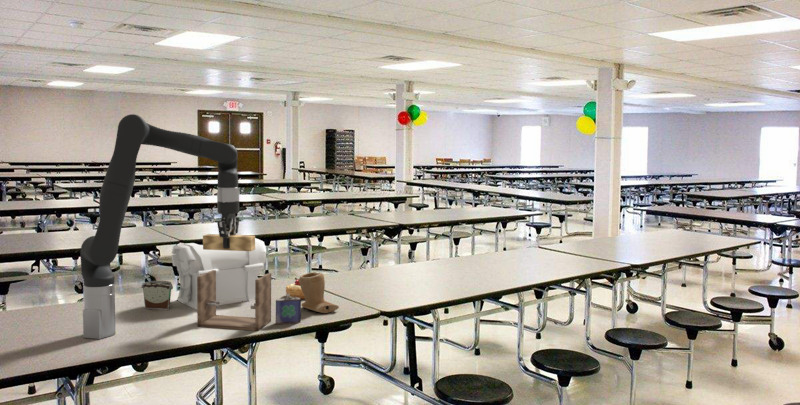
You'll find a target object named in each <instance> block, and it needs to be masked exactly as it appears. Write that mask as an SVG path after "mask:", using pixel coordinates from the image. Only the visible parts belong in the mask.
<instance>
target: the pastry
mask: <svg viewBox="0 0 800 405" xmlns="http://www.w3.org/2000/svg"><path fill="white" fill-rule="evenodd" d="M286 294H290V296H291V297H294V298H295V297H297V298H300V299H301V300H305V296H304V294H303V292H302V289H301V287H300V283H299V278H298V279H295V281H294V283H290V284H288V285H286V287H285V295H286Z"/></svg>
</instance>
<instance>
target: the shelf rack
mask: <svg viewBox="0 0 800 405" xmlns="http://www.w3.org/2000/svg"><path fill="white" fill-rule="evenodd" d="M254 301H255V303H254V304H253V305H252V304H251V305H250V309H251V310H254V311H255V312H254V314H255V316H254V317H249V316H239V315H238V316H234V315H223V314H222V315H220V314H217V306H216V304H220V301H216V270H212V271H209V272H207V273H205V274H202V275H200V276H197V316H196V317H197V321H196V322H197V327H201V328H211V329H215V328H216V329H227V330H228V329H231V330H243V331H253V332H254V331H255V332H256V331H257V332H258V331H260V330H262V329H263V328H265V326H267V325H268V324H270V323H271V322H272V273H271V272H270V273H269V272H267V273H266V274H264V275H262V276H260V277H258V279H256V280H255V300H254Z"/></svg>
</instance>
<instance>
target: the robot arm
mask: <svg viewBox="0 0 800 405" xmlns="http://www.w3.org/2000/svg"><path fill="white" fill-rule="evenodd" d="M141 145H144V146H153V147H161V148H164V149H168V150H172V151H177V152H179V153H184V154H186V155H190V156H195V157H198V158H203V159H204V158H205V159H209V160H212V161H215V162H217V166H218V172H217V193H216V200H217V202H216V203H217V204H216V205H217V206H216V207H217V209H216V210H217V213H218V214H221V216H220V217H221V219H220V221H217V229H218V234H219V236H220V237H222V238H223V248H224V249H228V248H230V238H229V237H230V235H237V234H238V232H239V223H240V217H237V216H236V214H239V213H240V191H239V176H238V158H239V157H238V150H237V148H236V147H235V146H234V145H233V144H231V143H224V142H221V141H216V140H211V139H209V138H206V137H203V136H199V135H197V134H196V135H195V134H191V133H188V132H187V133H186V132H180V131H172V130H167V129H163V128H160V127H157V126H154V125H152V124H150V123H148V122H147V121H146V120H145V119H144V118H143V117H142V116H139V115H137V114H134V113H133V114H127V115H125V116H124V117H122V118H121V120H120V121H119V122H118V124H117V131H116V138H115V144H114V148H113V153H112V155H111V156H112V157H111V159H110V161H109V164H108V167H107V169H106V173H105V176H104V179H103V182H102V185H101V189H100V193H99V200H98V202H99V205H98V206H99V221H98V224H97V229H96V232H95V235H92V236H89V237H87V238H86V239H85V240H84V241H83V242H82V244H81V247H80V269H81V276H82V280H83V302H84V309H83V310H82V329H83V330H82V331H83V332H82V333H83V334H82V336H83V337H82V338H84V339H96V340H97V339H98V340H100V339H103V338H108V337H109V338H110V337H113V336H114V335H116V291H115V290H116V288H115V282H116V280H115V275H114V273H113V271H112V267H111V263H113V262H114V261H115V259H116V257H117V255H118V252H119V251H118V250H119V245H120V244H119V243H120V237H121V232H122V227H123V223H124V219H125V217H126V213H127V209H128V206H129V203H130V199H131V197H132V193H133V188H134V185H135V178H136V169H137V168H136V167H137V159H138V154H139V152H140V148H141Z"/></svg>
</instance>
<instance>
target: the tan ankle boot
mask: <svg viewBox="0 0 800 405" xmlns="http://www.w3.org/2000/svg"><path fill="white" fill-rule="evenodd" d="M298 279H299V283H300V287H301V289H302V292H303V294H304V296H305V299H304V300H305V301H304V302H301V308H305V309H307V310H310V311H313V312H318V313H322V314H328V313H332V312H335V311H336V310H338V309H339V308H340V307H339V305H337V304H334V303H331V302H329V301H326V300H325V299H324V298H325V296H324V295H325V288H326V287H325V286H326V285H325V283H326V282H325V276H324V273H322V272H320V271H319V272H316V271H313V272H307V273H304V274H301V275H300V276H299V278H298Z"/></svg>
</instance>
